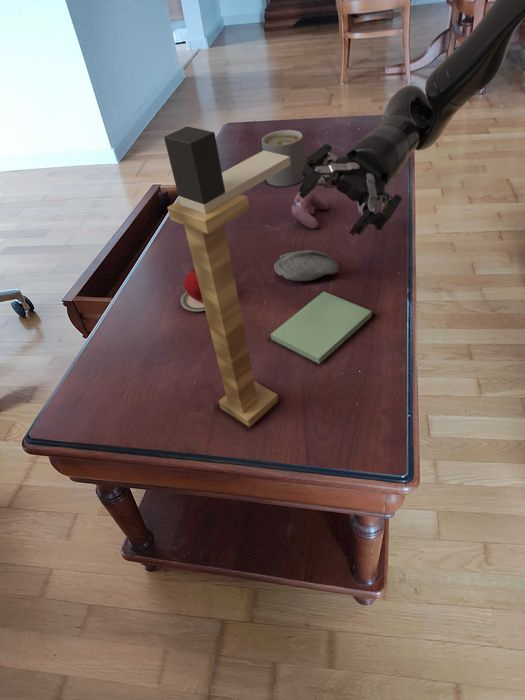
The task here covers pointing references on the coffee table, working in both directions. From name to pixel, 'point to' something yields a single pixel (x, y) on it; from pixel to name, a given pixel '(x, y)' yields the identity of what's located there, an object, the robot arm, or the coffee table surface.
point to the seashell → (305, 265)
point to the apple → (192, 293)
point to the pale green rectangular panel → (321, 326)
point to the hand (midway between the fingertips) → (328, 211)
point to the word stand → (224, 306)
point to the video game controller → (308, 208)
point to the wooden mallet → (214, 170)
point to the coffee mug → (288, 146)
